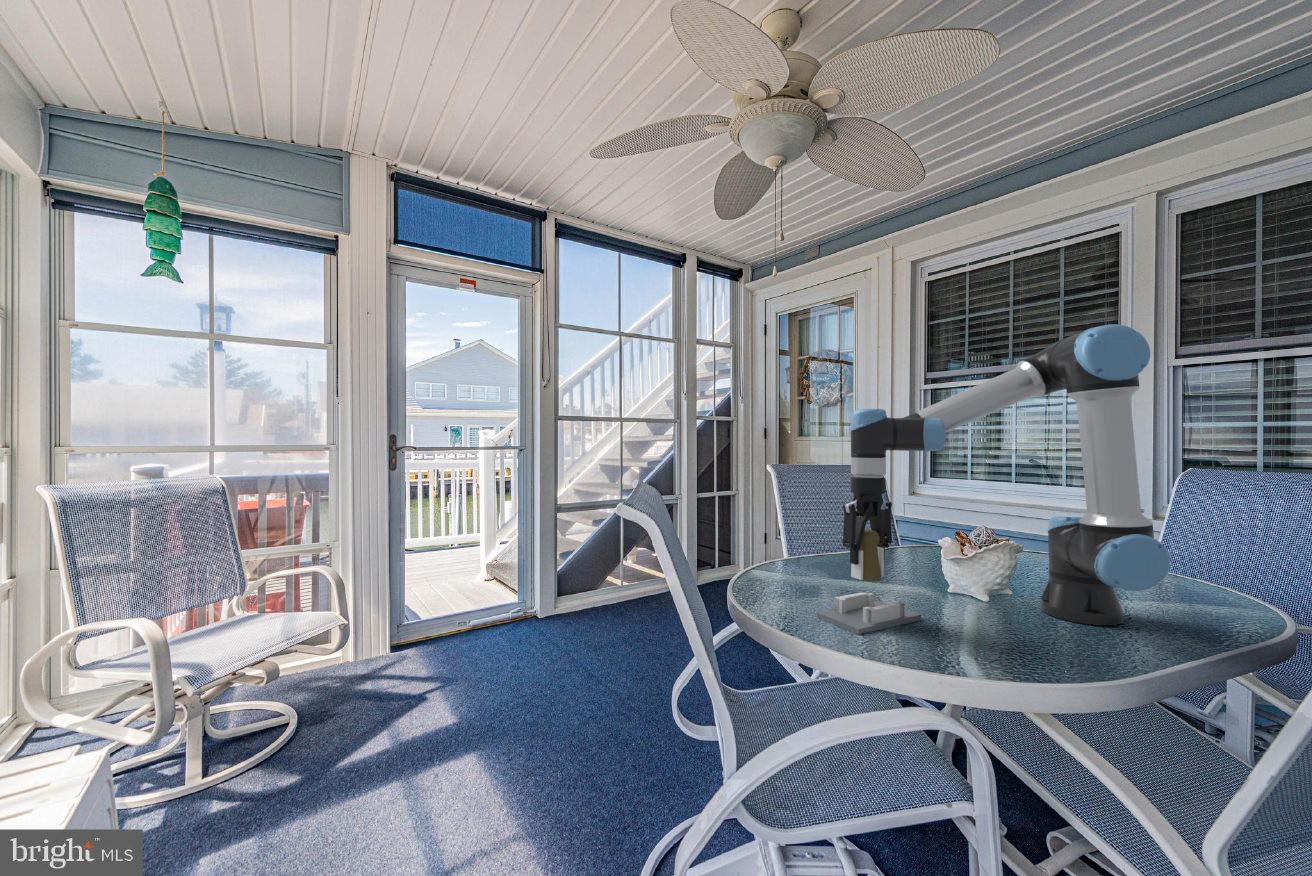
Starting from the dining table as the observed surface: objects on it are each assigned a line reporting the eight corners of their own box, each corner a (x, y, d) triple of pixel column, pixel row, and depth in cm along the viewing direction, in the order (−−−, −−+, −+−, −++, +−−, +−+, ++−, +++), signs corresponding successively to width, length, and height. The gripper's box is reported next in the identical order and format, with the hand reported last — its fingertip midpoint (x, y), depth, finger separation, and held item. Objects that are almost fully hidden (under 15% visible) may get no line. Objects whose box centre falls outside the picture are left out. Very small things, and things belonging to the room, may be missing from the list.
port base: (921, 619, 118) (920, 601, 119) (858, 634, 109) (858, 614, 109) (877, 605, 129) (877, 588, 129) (817, 617, 120) (817, 599, 120)
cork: (879, 583, 115) (879, 533, 115) (850, 579, 118) (850, 530, 119) (883, 577, 120) (883, 529, 120) (856, 573, 124) (856, 527, 124)
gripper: (882, 474, 127) (882, 568, 127) (825, 476, 119) (824, 577, 118) (909, 476, 121) (909, 575, 120) (851, 478, 112) (850, 585, 112)
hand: (867, 576), depth 119 cm, fingers closed on cork, 6 cm apart
